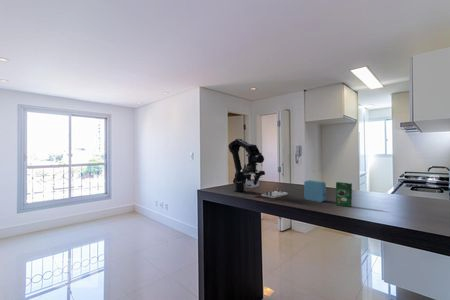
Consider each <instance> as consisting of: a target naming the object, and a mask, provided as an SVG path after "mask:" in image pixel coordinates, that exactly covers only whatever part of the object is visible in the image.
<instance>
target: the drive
mask: <svg viewBox="0 0 450 300" xmlns="http://www.w3.org/2000/svg"><path fill="white" fill-rule="evenodd" d="M259 186H260V179H259V180H258V182H257V184H256V185H255V181H254V178H251V179H250V180H247V179H246V183H245V188H250V189H251V188H256V187H259Z"/></svg>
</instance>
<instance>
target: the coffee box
mask: <svg viewBox="0 0 450 300" xmlns="http://www.w3.org/2000/svg"><path fill="white" fill-rule="evenodd" d="M352 195H353V183H352V182H343V181H342V182H339V181H336V182H335V206H340V207H346V208H347V207H348V208H352V205H353V203H352V202H353V199H352V198H353V196H352Z"/></svg>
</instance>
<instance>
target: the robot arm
mask: <svg viewBox="0 0 450 300" xmlns="http://www.w3.org/2000/svg"><path fill="white" fill-rule="evenodd" d="M227 147H228V150H229V153H231V154H232V158H233V164H234V168H235V173H234V178H233V180H232V184H235V186H234V190H233V192H236V193H243V192H246V190H245V185H244V184H246V180H250V179H252V177H254V178H253V179H254V181H255V185H256V184H257V182H258V180H259V181H260V178H261V176H264V175H266V172H265V170H258V169H257V166H258V164H262V163H263V162H264V161H265V156H264V155H263V153H262V152H261V151H260V150H259V148H258V146H257V144H252V143H251V144H250V143H248V142H247V141H245V140H243V139H242V138H235V139H234V140H232V141H231V142H230V143H229V144H228V146H227ZM241 147H242V148H243V149H244V150H245V152H246V153H247V154H246V157H247V164H246V166H245V167H243V166H242V163H241V159H240V155H239V154H240V150H241V149H240V148H241ZM252 174H253V176H252Z"/></svg>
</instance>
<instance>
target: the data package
mask: <svg viewBox="0 0 450 300" xmlns="http://www.w3.org/2000/svg"><path fill="white" fill-rule="evenodd" d="M303 184H304V185H303V190H304V193H303V194H304V195H303V196H304V199H305V200H306V201H312V202H318V203H322V202H325V201H326V199H327V185H326V182H325V181H321V180H320V181H319V180H311V179H309V180H305V181H304V183H303Z"/></svg>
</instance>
